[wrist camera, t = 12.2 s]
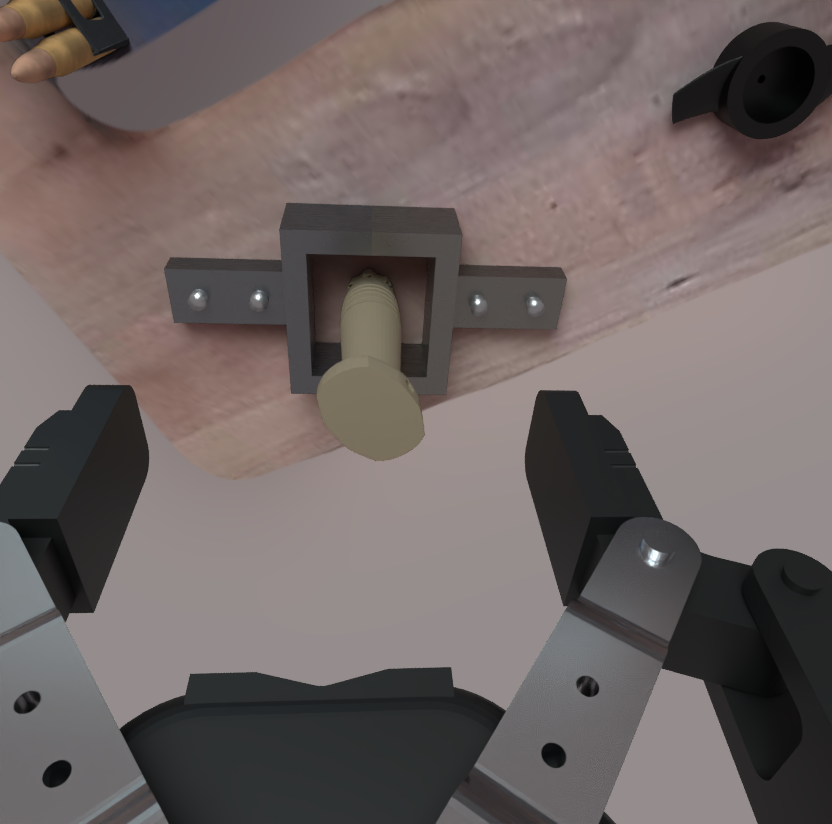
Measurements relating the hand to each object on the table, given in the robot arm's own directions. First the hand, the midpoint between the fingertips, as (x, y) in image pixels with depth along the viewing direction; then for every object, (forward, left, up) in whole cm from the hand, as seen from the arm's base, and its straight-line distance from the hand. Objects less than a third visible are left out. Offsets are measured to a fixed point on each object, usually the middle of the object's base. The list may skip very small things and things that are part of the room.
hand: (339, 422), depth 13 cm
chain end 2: (+13, +8, -32) cm, 35 cm away
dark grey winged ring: (-2, +24, -33) cm, 41 cm away
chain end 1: (+13, -6, -32) cm, 35 cm away
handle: (+13, +1, -32) cm, 35 cm away
